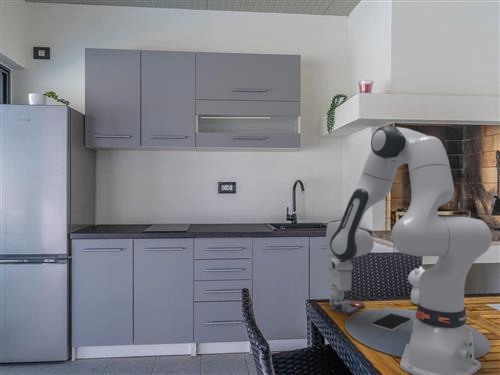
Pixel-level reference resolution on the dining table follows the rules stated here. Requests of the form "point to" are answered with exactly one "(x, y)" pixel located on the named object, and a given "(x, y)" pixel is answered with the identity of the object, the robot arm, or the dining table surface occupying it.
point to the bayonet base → (345, 306)
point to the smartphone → (391, 322)
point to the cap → (334, 292)
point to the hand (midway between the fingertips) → (338, 296)
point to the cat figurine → (415, 284)
